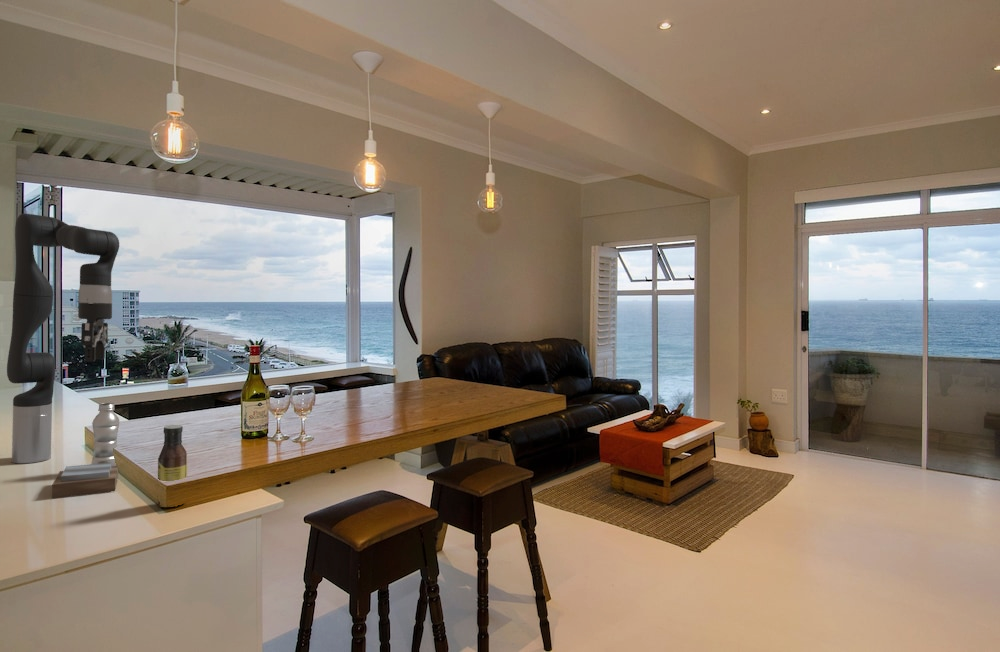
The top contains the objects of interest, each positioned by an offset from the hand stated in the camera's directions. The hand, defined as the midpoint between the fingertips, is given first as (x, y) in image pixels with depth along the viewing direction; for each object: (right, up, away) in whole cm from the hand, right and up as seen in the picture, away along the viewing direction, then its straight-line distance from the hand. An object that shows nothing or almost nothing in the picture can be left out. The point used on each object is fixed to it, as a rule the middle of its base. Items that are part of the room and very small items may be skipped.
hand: (94, 360), depth 152 cm
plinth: (+2, -34, -5) cm, 34 cm away
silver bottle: (-4, -34, +9) cm, 35 cm away
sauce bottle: (+30, -35, -15) cm, 49 cm away
